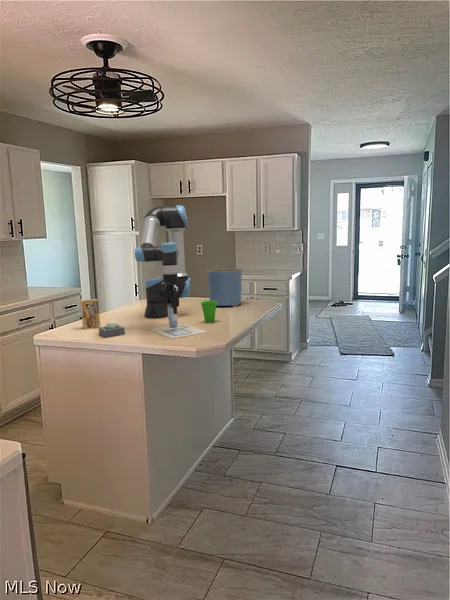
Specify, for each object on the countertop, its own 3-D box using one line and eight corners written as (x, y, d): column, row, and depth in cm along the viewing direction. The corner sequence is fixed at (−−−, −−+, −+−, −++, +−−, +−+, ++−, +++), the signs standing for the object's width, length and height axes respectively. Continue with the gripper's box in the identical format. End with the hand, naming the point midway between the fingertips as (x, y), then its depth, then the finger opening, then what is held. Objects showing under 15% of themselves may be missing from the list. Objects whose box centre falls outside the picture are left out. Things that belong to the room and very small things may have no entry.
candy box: (99, 325, 254) (96, 298, 251) (100, 327, 250) (98, 299, 248) (82, 328, 250) (80, 300, 248) (84, 329, 246) (81, 301, 244)
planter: (205, 308, 296) (203, 272, 292) (212, 302, 318) (210, 268, 314) (240, 307, 292) (239, 271, 288) (244, 301, 314) (243, 267, 310)
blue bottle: (167, 327, 233) (166, 303, 231) (175, 325, 235) (174, 302, 234) (171, 328, 229) (169, 304, 228) (179, 327, 232) (177, 303, 230)
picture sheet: (149, 329, 238) (149, 329, 238) (183, 324, 249) (183, 323, 249) (172, 338, 217) (172, 338, 217) (208, 332, 227) (208, 331, 227)
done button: (105, 331, 232) (105, 323, 231) (114, 330, 235) (113, 322, 234) (108, 332, 228) (108, 325, 228) (117, 331, 231) (117, 323, 230)
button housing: (99, 334, 233) (98, 327, 233) (118, 331, 238) (117, 324, 238) (105, 337, 225) (104, 330, 224) (125, 334, 230) (124, 327, 230)
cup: (215, 323, 248) (215, 303, 246) (199, 323, 250) (198, 303, 248) (219, 319, 257) (218, 300, 255) (203, 319, 258) (202, 300, 257)
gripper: (156, 273, 233) (159, 318, 237) (171, 275, 219) (173, 323, 223) (169, 272, 237) (172, 316, 241) (184, 273, 223) (187, 320, 227)
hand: (172, 319), depth 232 cm, fingers closed on blue bottle, 4 cm apart
